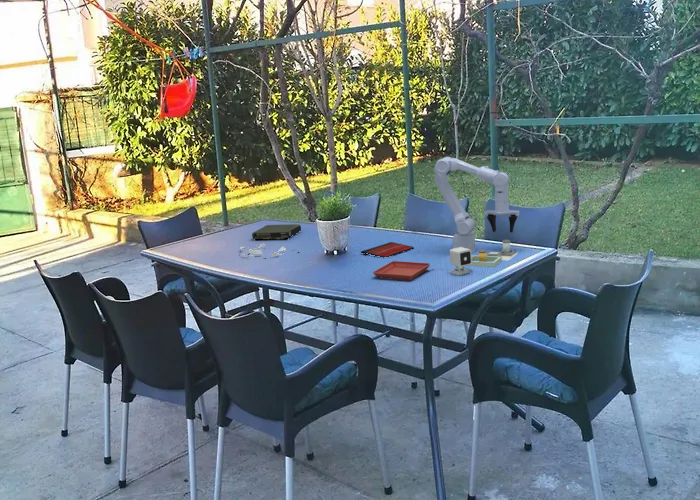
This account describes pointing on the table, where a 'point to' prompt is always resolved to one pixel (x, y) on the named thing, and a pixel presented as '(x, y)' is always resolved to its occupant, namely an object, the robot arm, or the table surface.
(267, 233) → the network switch
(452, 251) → the security camera
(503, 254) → the fuse block
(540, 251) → the table surface
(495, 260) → the parts tray
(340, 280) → the table surface
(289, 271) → the table surface
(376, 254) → the binder
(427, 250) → the table surface
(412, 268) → the plant saucer
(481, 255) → the amber fuse
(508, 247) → the grey fuse
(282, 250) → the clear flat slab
